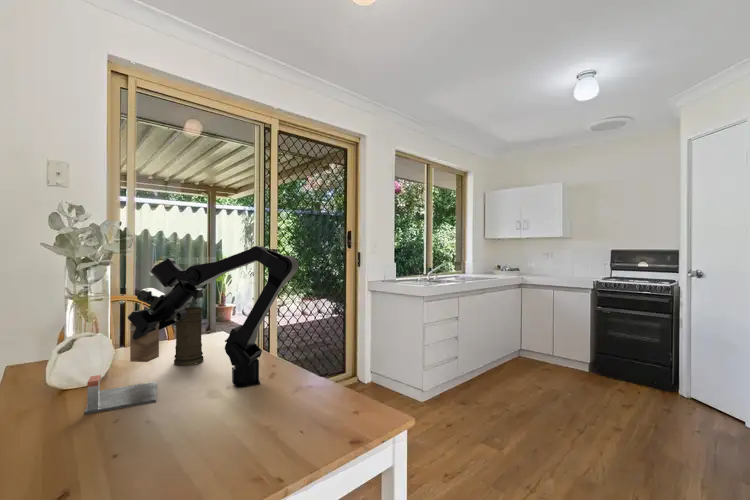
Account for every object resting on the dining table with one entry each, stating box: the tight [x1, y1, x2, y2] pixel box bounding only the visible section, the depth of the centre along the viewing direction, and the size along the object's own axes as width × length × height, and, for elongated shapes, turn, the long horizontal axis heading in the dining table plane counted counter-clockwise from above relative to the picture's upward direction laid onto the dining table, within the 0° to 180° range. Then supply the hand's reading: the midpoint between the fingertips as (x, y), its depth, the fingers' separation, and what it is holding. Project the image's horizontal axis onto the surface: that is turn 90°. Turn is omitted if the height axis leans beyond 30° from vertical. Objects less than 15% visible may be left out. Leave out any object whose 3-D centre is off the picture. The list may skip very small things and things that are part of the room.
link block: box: [129, 322, 160, 363], centre depth 104 cm, size 5×5×11 cm
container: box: [173, 306, 204, 367], centre depth 121 cm, size 9×9×18 cm
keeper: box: [83, 374, 158, 416], centre depth 92 cm, size 14×14×7 cm
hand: (140, 336), depth 104 cm, fingers closed on link block, 5 cm apart
